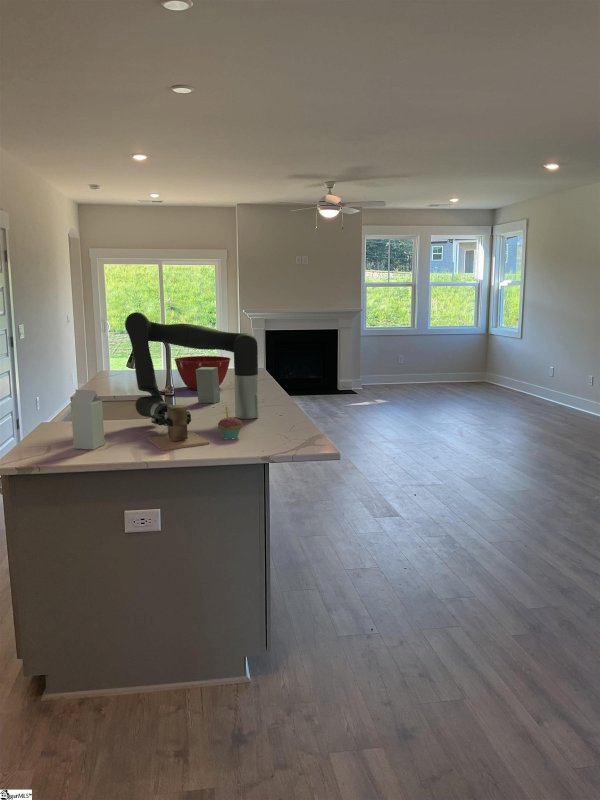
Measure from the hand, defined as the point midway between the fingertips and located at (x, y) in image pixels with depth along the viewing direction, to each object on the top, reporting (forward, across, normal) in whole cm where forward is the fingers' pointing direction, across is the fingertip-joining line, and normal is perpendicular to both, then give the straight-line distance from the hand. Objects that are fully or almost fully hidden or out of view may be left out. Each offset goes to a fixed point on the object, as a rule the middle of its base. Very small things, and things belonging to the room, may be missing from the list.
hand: (180, 422), depth 206 cm
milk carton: (-11, -27, +8) cm, 30 cm away
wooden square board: (-3, 0, +7) cm, 8 cm away
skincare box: (-65, +36, +8) cm, 75 cm away
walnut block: (-3, 0, +6) cm, 7 cm away
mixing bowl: (-103, +48, +8) cm, 114 cm away
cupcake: (+1, +18, +8) cm, 19 cm away
